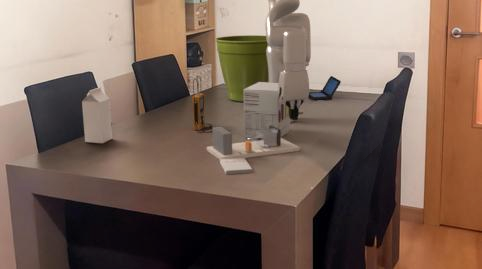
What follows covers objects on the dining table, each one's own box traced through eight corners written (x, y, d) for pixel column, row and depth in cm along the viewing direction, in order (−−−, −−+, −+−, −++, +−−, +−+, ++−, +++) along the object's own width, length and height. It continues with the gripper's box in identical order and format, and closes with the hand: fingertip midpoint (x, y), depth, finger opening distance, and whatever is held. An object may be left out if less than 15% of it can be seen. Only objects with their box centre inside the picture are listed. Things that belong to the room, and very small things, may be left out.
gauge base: (281, 140, 225) (281, 118, 223) (299, 150, 212) (299, 126, 210) (206, 150, 214) (206, 126, 212) (221, 161, 202) (221, 136, 200)
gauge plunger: (271, 140, 219) (271, 125, 218) (284, 147, 210) (284, 131, 209) (243, 144, 215) (243, 128, 214) (255, 151, 207) (255, 135, 205)
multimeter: (216, 133, 236) (215, 80, 231) (190, 132, 238) (188, 80, 233) (225, 124, 250) (224, 74, 245) (200, 123, 252) (199, 73, 247)
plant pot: (280, 104, 285) (281, 40, 278) (215, 105, 286) (213, 41, 279) (278, 92, 314) (278, 34, 307) (218, 93, 315) (216, 35, 308)
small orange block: (248, 149, 208) (248, 140, 207) (251, 151, 205) (251, 142, 205) (245, 149, 207) (245, 141, 207) (248, 152, 205) (248, 143, 204)
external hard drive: (225, 175, 189) (219, 163, 201) (252, 174, 190) (245, 162, 202) (225, 170, 189) (219, 159, 200) (252, 168, 190) (245, 157, 202)
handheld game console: (304, 95, 308) (304, 76, 305) (331, 94, 310) (331, 75, 307) (313, 101, 293) (313, 81, 290) (340, 100, 295) (341, 80, 292)
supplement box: (278, 141, 224) (278, 91, 220) (243, 138, 229) (242, 89, 224) (291, 130, 240) (291, 82, 236) (258, 127, 245) (258, 81, 240)
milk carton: (112, 138, 231) (109, 87, 226) (102, 143, 224) (98, 91, 220) (95, 137, 233) (91, 86, 228) (84, 142, 227) (80, 90, 222)
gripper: (308, 62, 219) (307, 114, 224) (269, 66, 213) (269, 119, 218) (319, 66, 212) (318, 119, 217) (279, 70, 206) (278, 124, 212)
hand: (293, 119), depth 218 cm, fingers closed
